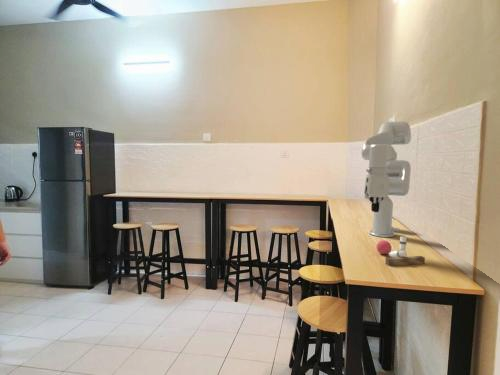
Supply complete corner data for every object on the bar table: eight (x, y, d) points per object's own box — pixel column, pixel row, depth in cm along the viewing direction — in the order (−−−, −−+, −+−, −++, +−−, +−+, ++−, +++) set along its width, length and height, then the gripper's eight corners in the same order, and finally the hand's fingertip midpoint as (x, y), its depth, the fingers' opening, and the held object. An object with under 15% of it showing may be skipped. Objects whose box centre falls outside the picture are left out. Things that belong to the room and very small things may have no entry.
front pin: (393, 250, 133) (405, 249, 124) (394, 256, 133) (407, 256, 124) (387, 251, 133) (399, 250, 124) (389, 257, 132) (401, 257, 123)
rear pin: (402, 257, 133) (403, 236, 132) (406, 259, 130) (408, 237, 129) (397, 257, 132) (398, 236, 131) (401, 259, 130) (402, 238, 129)
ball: (395, 247, 132) (391, 256, 136) (389, 236, 137) (385, 245, 141) (382, 249, 132) (378, 258, 136) (376, 238, 136) (372, 246, 140)
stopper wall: (420, 262, 127) (421, 256, 127) (424, 263, 125) (424, 257, 125) (385, 263, 124) (385, 257, 123) (388, 265, 122) (389, 259, 121)
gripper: (367, 171, 137) (364, 213, 139) (397, 172, 140) (394, 212, 142) (357, 171, 145) (355, 210, 146) (387, 171, 148) (384, 210, 149)
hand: (375, 211), depth 144 cm, fingers closed
